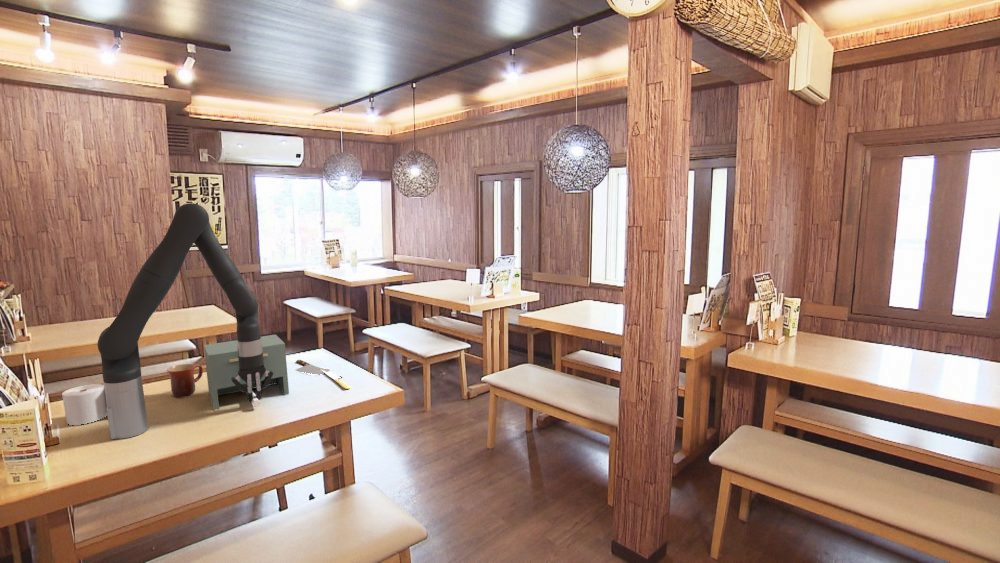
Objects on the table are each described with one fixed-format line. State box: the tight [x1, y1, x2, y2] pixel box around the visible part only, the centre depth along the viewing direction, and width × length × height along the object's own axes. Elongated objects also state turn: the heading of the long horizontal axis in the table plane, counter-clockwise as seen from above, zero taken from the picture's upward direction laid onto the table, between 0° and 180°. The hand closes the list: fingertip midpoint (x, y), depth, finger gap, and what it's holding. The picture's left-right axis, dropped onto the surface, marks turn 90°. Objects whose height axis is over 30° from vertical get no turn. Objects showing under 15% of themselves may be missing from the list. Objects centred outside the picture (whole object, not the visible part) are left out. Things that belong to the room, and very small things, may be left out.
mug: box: [166, 363, 204, 398], centre depth 187 cm, size 12×9×10 cm
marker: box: [245, 389, 261, 407], centre depth 177 cm, size 3×2×16 cm
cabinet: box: [203, 333, 290, 411], centre depth 183 cm, size 24×16×19 cm
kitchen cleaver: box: [295, 359, 331, 376], centre depth 214 cm, size 24×1×10 cm
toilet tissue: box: [61, 383, 108, 426], centre depth 166 cm, size 11×12×10 cm
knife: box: [320, 366, 352, 390], centre depth 202 cm, size 1×34×5 cm
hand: (254, 401), depth 174 cm, fingers closed on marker, 1 cm apart
